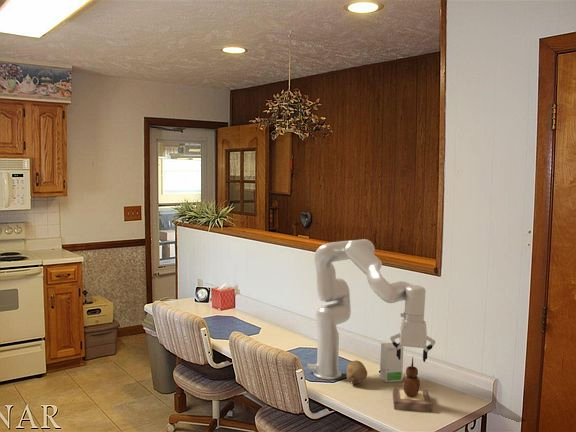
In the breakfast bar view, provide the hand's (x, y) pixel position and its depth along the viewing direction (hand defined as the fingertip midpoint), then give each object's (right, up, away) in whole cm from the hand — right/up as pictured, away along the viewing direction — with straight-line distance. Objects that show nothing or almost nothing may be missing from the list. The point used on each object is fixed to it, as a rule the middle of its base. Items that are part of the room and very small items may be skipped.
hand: (411, 359), depth 214 cm
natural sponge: (-19, -16, +20) cm, 32 cm away
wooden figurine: (0, -14, +1) cm, 14 cm away
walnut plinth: (0, -17, +1) cm, 17 cm away
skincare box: (-3, -16, +26) cm, 30 cm away
